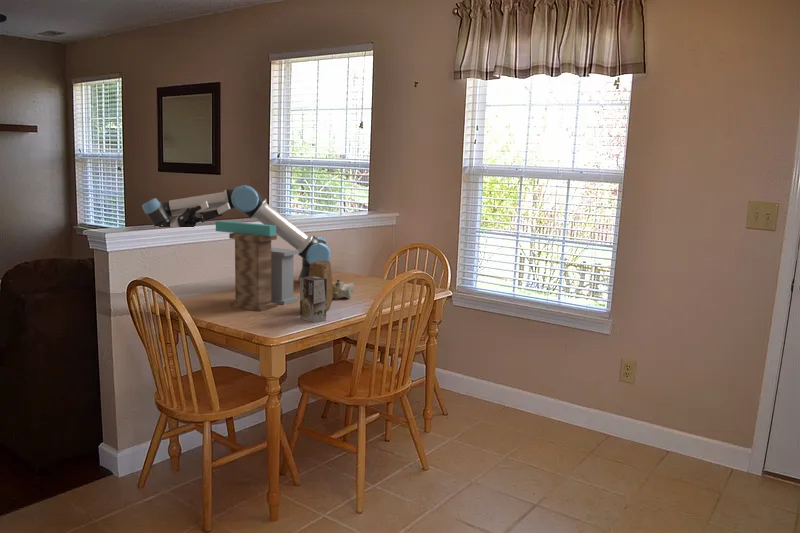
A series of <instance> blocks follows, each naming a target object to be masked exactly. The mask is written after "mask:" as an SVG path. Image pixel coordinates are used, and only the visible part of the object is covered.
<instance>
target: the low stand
mask: <svg viewBox="0 0 800 533" xmlns="http://www.w3.org/2000/svg"><path fill="white" fill-rule="evenodd" d="M298 254H299V250H296V249H290V248H289V249H288V248H281V247H280V248H279V247H271V302H272V303H277V305H288V304H291V303H294V302H298V301H299V297H298V296H294V255H298Z"/></svg>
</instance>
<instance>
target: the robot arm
mask: <svg viewBox="0 0 800 533" xmlns="http://www.w3.org/2000/svg"><path fill="white" fill-rule="evenodd" d="M267 202H268V201H267V198H266V197H265V196H264V195H262V194H260V193H259V191H257V190H256V189H255V188H253V187H252V186H250V185H248V184H241V185H238V186H235V187H232V188H227V189H224V191H221V192H215V193H210V194H202V195H196V196H189V197H184V198H183V197H182V198H177V199H176V198H175V199H171V200H166V201H159V200H158V199H157V198H156V197H154V198H151V199H150V200H148V201H146V202H145V203H143V204H142V205H141V207H142V210H143V212H144V214H145V215H146V216H147V218H148V219H149V220H150V222H151V223H152V226H153V227H155V226H159V227H194V226H195V227H196V225H197V223H200V222H201V223H205V222H207V221H210V220H213V219H216V218H219V217H222V216H223V213H225V212H226V211H229V210H232V209H233V210H234V209H236V210H237V211H239V212H242V213H243V214H244V215H245V216H246V217H248V218H250V219H256V220H257V221H259V222H260V223H261V224H264V225H276V234H277V236H278V237H279V238H281V239H282V240H284V241H285V242H286V243H288V244H289V245H290V246H292V247H293V248H294V250H299V254H297V255H298V256H300V257H301V259H302V261H301V264H302V265H301V266H302V267H301V269H300V273H299V276H298V284H300V278H301V277H307V276H309V272H310V264H311V263H312V262H314V261H318V260H320V261H329V262H330V260H331V256H332V255H331V253H332V252H331V249H330V247H329V246H328V245H327V240H326V237H323V236H318V237H317V236H315V235H314V234H307V233H305V232H304V231H303V230H302V229H300V228H299V227H298V226H296V225H295V224H294V223H293V222H291V221H290V220H289V219H287V218H286V217H285V216H284V215H283V214H281V213H280V212H278V211H277V210H276V209H274V208H273V207H272V206H271V205H270V204H268V203H267ZM171 217H174V218H173V219H171ZM161 225H163V226H161ZM195 227H194V228H195Z"/></svg>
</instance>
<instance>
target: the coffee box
mask: <svg viewBox="0 0 800 533" xmlns="http://www.w3.org/2000/svg"><path fill="white" fill-rule="evenodd" d="M326 295H327V279H325V278H321V277H316V276H307V277H301V278H300V283H299V318H300V319H302V320H305V321H308V322H311V323H319V322H323V321H324V322H325V321H327V311H326Z"/></svg>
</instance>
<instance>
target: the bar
mask: <svg viewBox="0 0 800 533" xmlns="http://www.w3.org/2000/svg"><path fill="white" fill-rule="evenodd" d="M215 232H221V233H240V234H251V235H262V236H276V225H264V224H263V223H261V224H260V223H250V222H238V221H227V220H219V221H215Z"/></svg>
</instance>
